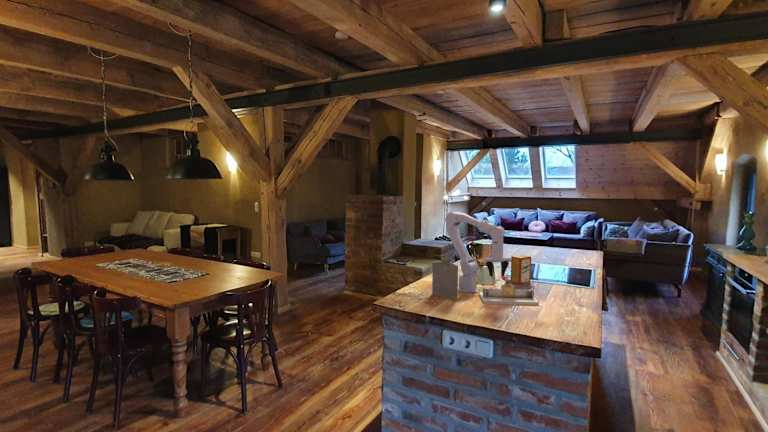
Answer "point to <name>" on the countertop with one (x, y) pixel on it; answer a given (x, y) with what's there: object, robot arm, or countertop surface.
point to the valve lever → (506, 279)
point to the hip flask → (445, 279)
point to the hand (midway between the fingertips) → (496, 275)
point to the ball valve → (508, 292)
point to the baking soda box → (520, 269)
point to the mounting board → (508, 300)
